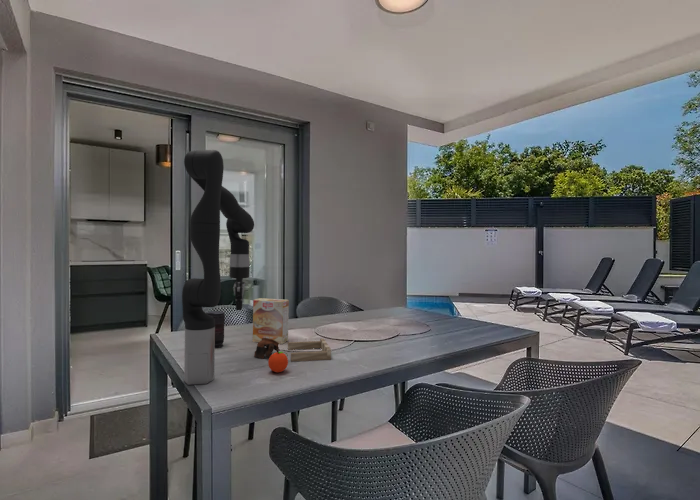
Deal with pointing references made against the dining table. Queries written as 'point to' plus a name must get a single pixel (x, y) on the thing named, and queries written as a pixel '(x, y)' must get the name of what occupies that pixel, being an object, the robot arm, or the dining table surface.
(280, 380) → the dining table surface
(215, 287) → the robot arm
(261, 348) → the pottery mug
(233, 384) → the dining table surface
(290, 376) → the dining table surface
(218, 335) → the camera lens
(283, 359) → the clementine
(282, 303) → the coffeecake box
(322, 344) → the beige wooden tray
